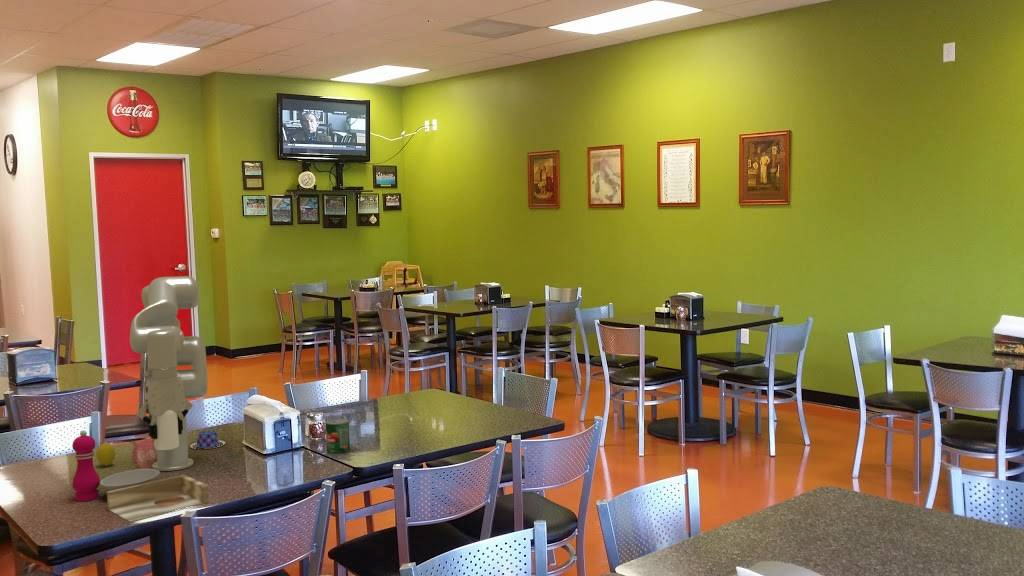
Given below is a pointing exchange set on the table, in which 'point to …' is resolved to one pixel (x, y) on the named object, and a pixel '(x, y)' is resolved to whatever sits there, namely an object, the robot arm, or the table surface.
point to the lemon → (105, 454)
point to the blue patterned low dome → (207, 440)
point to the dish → (129, 478)
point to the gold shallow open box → (157, 497)
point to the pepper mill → (85, 469)
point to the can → (167, 431)
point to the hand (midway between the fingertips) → (166, 435)
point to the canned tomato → (337, 436)
